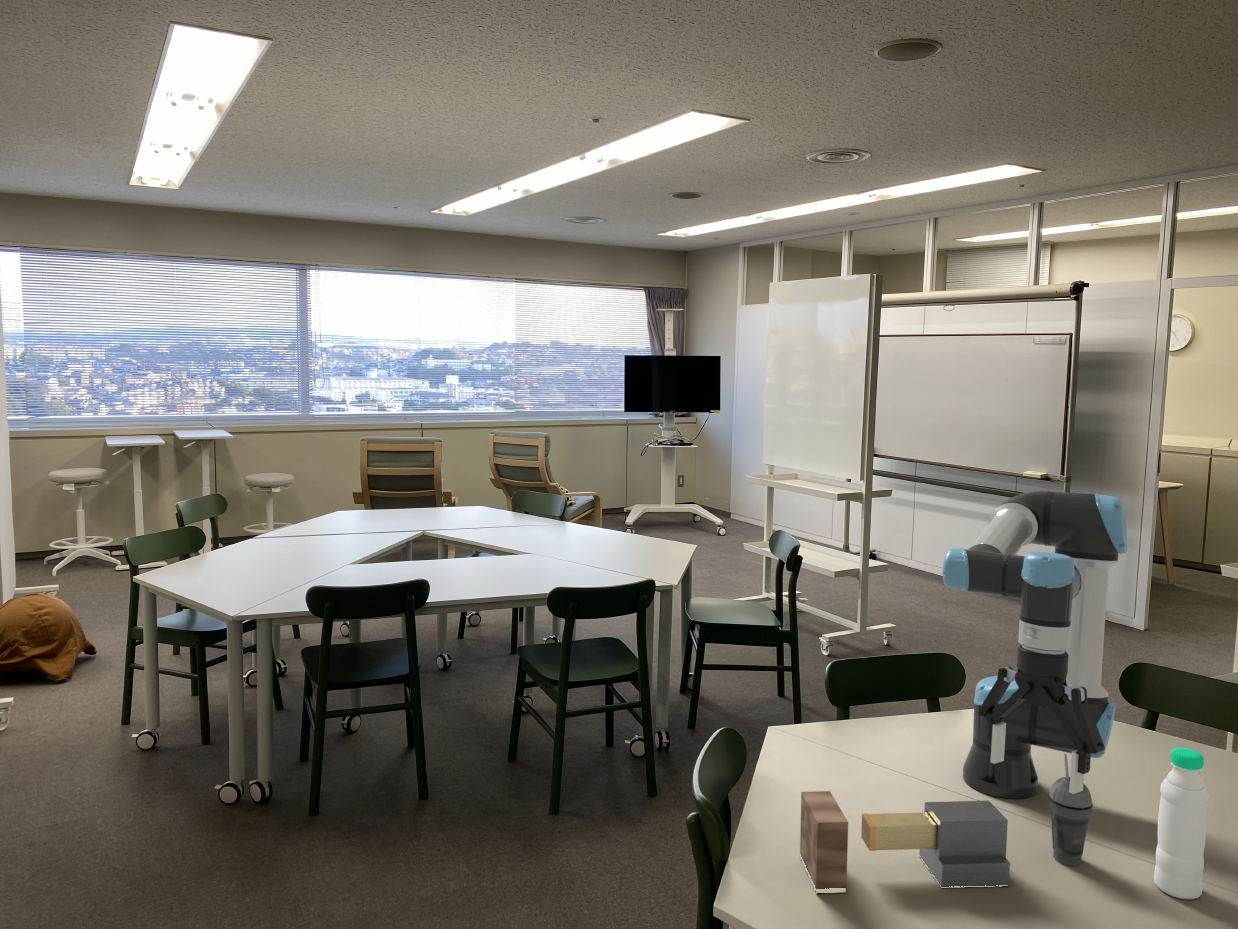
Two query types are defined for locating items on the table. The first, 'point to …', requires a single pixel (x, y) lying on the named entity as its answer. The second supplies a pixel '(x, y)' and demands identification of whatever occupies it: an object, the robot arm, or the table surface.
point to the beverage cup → (1069, 820)
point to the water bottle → (1182, 827)
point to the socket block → (824, 839)
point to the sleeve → (968, 844)
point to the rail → (899, 831)
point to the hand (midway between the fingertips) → (1035, 776)
